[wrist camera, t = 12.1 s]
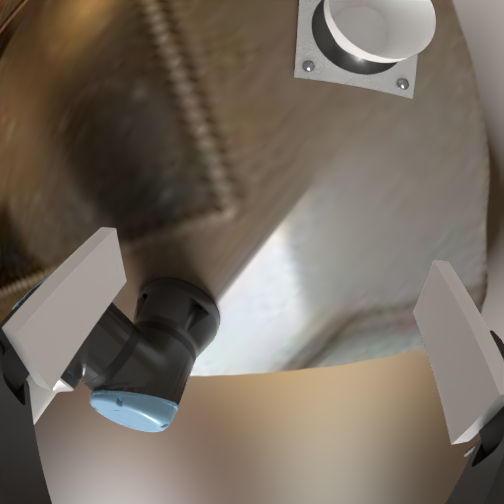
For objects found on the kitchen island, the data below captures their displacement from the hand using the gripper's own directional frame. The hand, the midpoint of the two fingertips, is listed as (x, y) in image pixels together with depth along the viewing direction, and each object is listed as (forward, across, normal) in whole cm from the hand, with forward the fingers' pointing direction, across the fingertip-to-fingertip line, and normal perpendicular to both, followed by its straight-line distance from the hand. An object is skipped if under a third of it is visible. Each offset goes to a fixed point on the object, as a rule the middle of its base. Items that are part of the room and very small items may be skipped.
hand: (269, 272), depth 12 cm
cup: (+26, +7, +15) cm, 31 cm away
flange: (+27, +7, +15) cm, 32 cm away
